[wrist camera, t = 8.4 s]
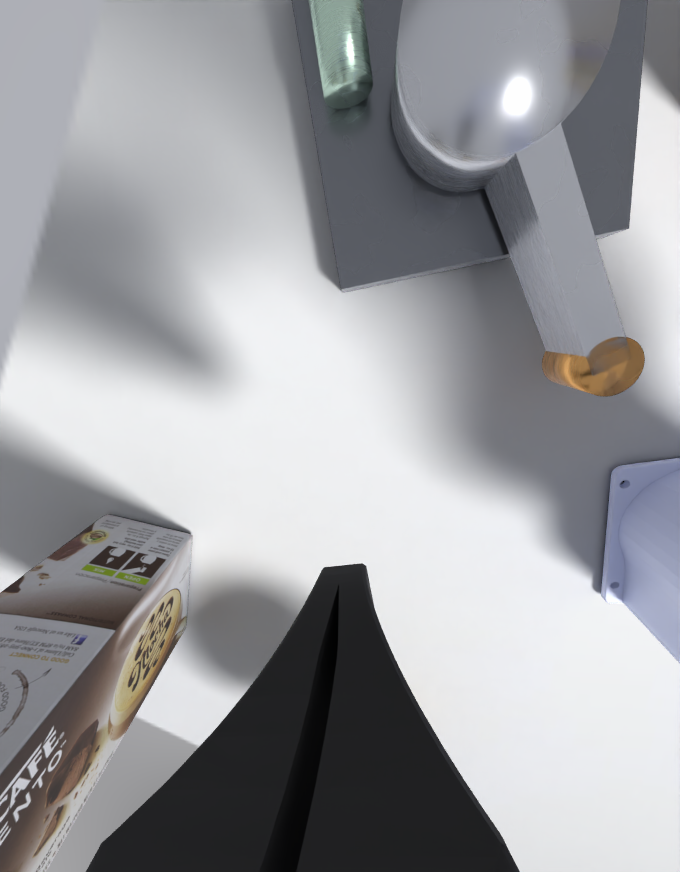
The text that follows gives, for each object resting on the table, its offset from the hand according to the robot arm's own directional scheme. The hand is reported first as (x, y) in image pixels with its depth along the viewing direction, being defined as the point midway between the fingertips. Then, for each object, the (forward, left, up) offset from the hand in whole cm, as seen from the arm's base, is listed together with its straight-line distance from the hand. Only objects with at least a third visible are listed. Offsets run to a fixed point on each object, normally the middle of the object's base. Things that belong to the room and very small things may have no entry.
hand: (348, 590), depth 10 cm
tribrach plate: (+15, -7, -9) cm, 19 cm away
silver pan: (+11, -9, -8) cm, 16 cm away
